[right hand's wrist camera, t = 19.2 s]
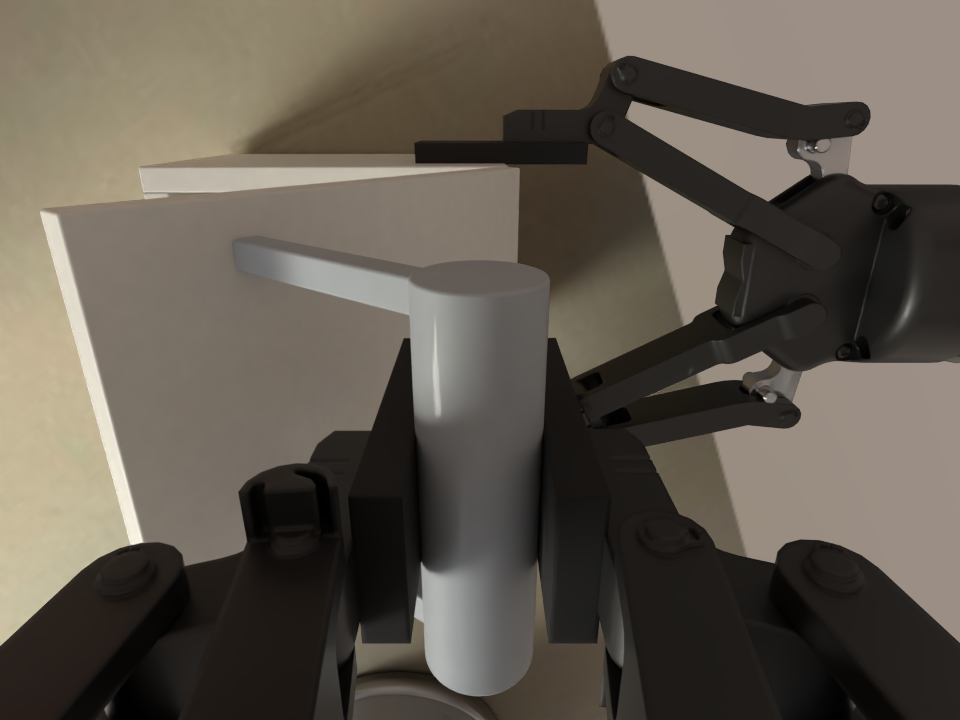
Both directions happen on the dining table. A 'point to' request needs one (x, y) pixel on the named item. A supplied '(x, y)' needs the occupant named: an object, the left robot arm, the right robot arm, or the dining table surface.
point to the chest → (278, 171)
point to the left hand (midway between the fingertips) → (422, 275)
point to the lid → (326, 372)
